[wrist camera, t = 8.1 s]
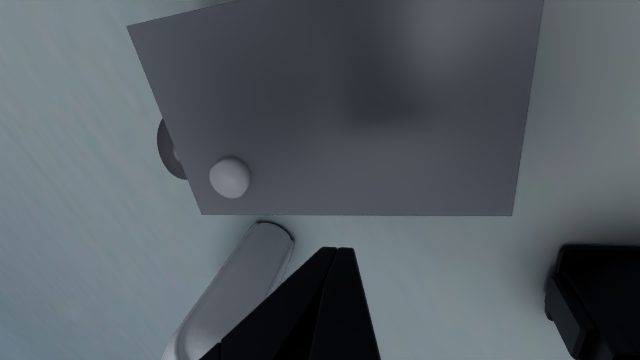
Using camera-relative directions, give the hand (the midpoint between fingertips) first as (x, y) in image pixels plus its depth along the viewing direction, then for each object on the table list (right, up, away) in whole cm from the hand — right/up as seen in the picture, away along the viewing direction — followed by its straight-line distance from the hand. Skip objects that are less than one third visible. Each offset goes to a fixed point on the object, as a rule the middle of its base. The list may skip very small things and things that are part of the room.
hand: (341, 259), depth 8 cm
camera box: (+1, +7, +10) cm, 12 cm away
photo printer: (-6, -5, +19) cm, 20 cm away
